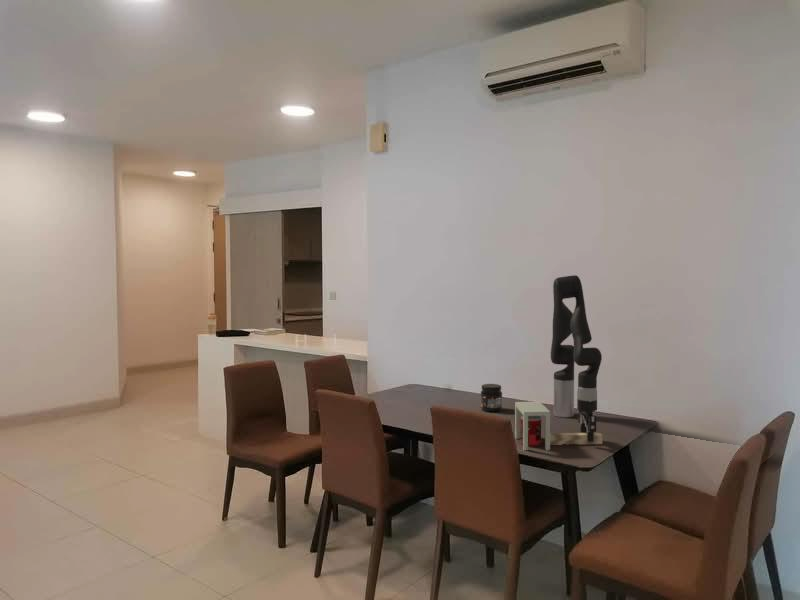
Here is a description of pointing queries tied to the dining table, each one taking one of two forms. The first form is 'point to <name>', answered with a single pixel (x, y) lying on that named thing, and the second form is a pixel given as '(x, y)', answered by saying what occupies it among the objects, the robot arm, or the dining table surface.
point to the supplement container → (491, 397)
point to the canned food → (532, 430)
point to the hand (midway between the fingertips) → (586, 438)
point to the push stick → (573, 438)
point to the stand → (527, 410)
